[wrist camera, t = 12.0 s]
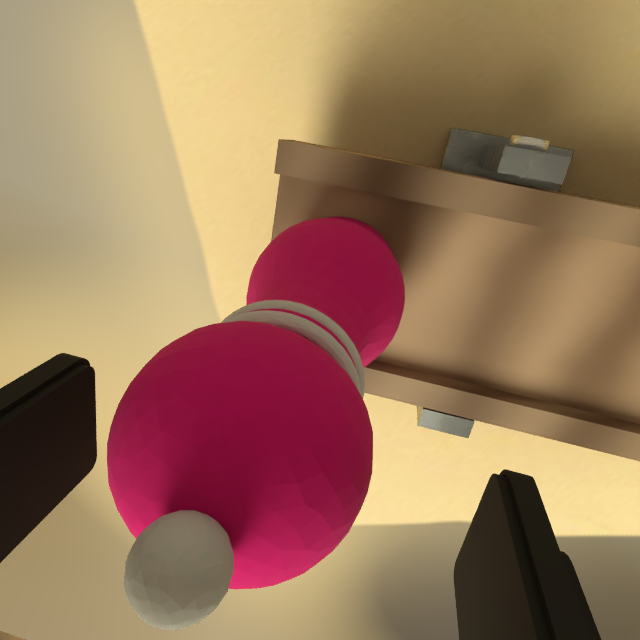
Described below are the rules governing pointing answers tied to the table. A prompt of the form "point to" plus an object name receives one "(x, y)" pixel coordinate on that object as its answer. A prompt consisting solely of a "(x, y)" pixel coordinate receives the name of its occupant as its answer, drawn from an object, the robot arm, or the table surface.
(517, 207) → the balance beam
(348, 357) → the pepper mill
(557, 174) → the beam stand
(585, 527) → the table surface
